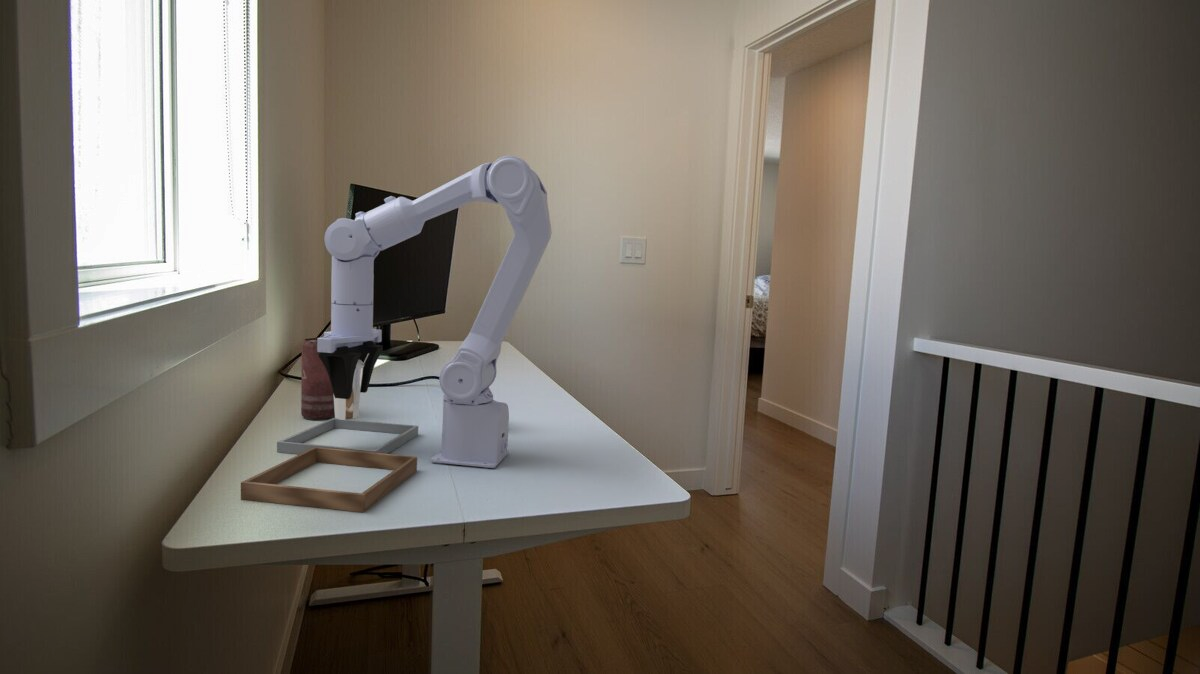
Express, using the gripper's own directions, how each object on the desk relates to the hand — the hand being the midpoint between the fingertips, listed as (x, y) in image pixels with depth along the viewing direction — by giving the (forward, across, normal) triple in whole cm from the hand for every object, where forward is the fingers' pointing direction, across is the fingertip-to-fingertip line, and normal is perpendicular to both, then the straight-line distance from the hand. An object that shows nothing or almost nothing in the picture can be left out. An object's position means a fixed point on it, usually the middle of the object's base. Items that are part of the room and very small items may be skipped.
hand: (351, 394), depth 91 cm
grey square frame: (+8, -3, -2) cm, 9 cm away
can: (+8, -16, -15) cm, 23 cm away
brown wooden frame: (+8, +14, +6) cm, 17 cm away
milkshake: (+4, 0, 0) cm, 4 cm away
